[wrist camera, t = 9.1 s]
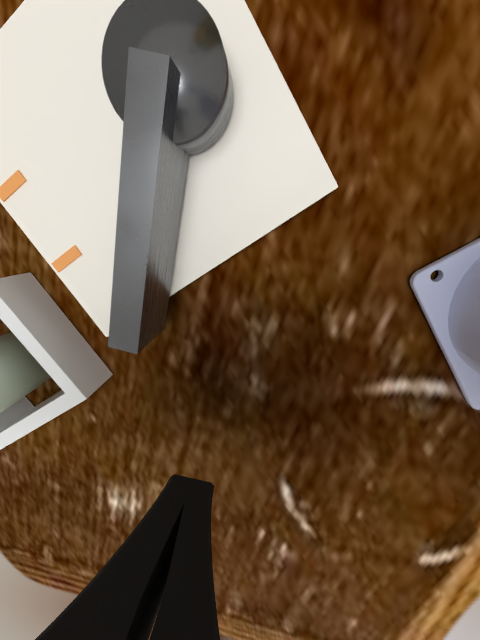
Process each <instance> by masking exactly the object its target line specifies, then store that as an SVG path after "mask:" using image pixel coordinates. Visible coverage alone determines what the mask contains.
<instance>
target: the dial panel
mask: <svg viewBox="0 0 480 640" xmlns="http://www.w3.org/2000/svg"><path fill="white" fill-rule="evenodd" d="M124 1H125V0H24V2H23V3H22V4H21V5H20V6H19V8H18V9H17V10H16V11H15V12H14V14H13V15H12V16H11V17H10V18H9V20H8V21H7V22H6V23H5V24H4V26H3V27H2V28H1V29H0V202H1V204H2V205H3V206H4V207H5V209H6V210H7V211H8V213H9V214H10V215H11V216H12V218H13V219H14V220H15V221H16V223H17V224H18V225H19V227H20V228H21V229H22V230H23V232H24V233H25V234H26V235H27V237H28V238H29V239H30V241H31V242H32V243H33V244H34V246H35V247H36V248H37V250H38V251H39V252H40V253H41V255H42V256H43V257H44V258H45V260H46V261H47V262H48V264H49V265H50V266H51V267H52V269H53V270H54V271H55V272H56V274H57V275H58V276H59V278H60V279H61V280H62V281H63V283H64V284H65V285H66V286H67V288H68V289H69V290H70V292H71V293H72V294H73V295H74V297H75V298H76V299H77V300H78V302H79V303H80V304H81V306H82V307H83V308H84V309H85V311H86V312H87V313H88V314H89V316H90V317H91V318H92V320H93V321H94V322H95V323H96V325H97V326H98V327H99V328H100V330H101V331H102V332H103V334H104V335H105V336H106V337H108V336H109V325H110V310H111V296H112V281H113V267H114V252H115V238H116V224H117V209H118V195H119V180H120V166H121V151H122V137H123V123H124V122H123V121H122V120H121V118H120V117H119V116H118V114H117V113H116V111H115V110H114V108H113V106H112V104H111V102H110V100H109V97H108V95H107V92H106V89H105V85H104V81H103V75H102V65H101V56H102V46H103V41H104V36H105V33H106V30H107V27H108V25H109V22H110V20H111V18H112V16H113V15H114V13H115V12H116V10H117V9H118V7H119V6H120V5H121V4H122V3H123V2H124ZM198 1H199V2H200V3H201V4H202V5H203V6H204V7H205V9H206V10H207V11H208V12H209V14H210V15H211V17H212V19H213V20H214V22H215V24H216V26H217V29H218V31H219V34H220V37H221V40H222V43H223V47H224V50H225V54H226V57H227V61H228V64H229V68H230V72H231V75H232V80H233V88H234V101H233V109H232V113H231V117H230V120H229V122H228V125H227V127H226V129H225V131H224V132H223V134H222V135H221V137H220V138H219V139H218V140H217V141H216V142H215V143H214V144H213V145H212V146H211V147H209V148H208V149H206V150H205V151H203V152H201V153H198V154H195V155H190V156H189V160H188V167H187V174H186V181H185V188H184V195H183V203H182V210H181V217H180V224H179V231H178V238H177V245H176V252H175V260H174V267H173V274H172V281H171V288H170V295H169V297H170V296H171V295H173V294H174V293H176V292H177V291H179V290H180V289H182V288H183V287H185V286H186V285H188V284H190V283H191V282H193V281H194V280H196V279H197V278H199V277H200V276H202V275H203V274H205V273H207V272H208V271H210V270H211V269H213V268H214V267H216V266H217V265H219V264H220V263H222V262H224V261H225V260H227V259H228V258H230V257H231V256H233V255H234V254H236V253H237V252H239V251H240V250H242V249H244V248H245V247H247V246H248V245H250V244H251V243H253V242H254V241H256V240H257V239H259V238H261V237H262V236H264V235H265V234H267V233H268V232H270V231H271V230H273V229H274V228H276V227H278V226H279V225H281V224H282V223H284V222H285V221H287V220H288V219H290V218H291V217H293V216H294V215H296V214H298V213H299V212H301V211H302V210H304V209H305V208H307V207H308V206H310V205H311V204H313V203H315V202H316V201H318V200H319V199H321V198H322V197H324V196H325V195H327V194H328V193H330V192H332V191H333V190H335V189H336V188H338V185H337V183H336V181H335V179H334V177H333V175H332V173H331V171H330V169H329V167H328V165H327V163H326V161H325V159H324V157H323V155H322V153H321V151H320V149H319V147H318V145H317V143H316V141H315V140H314V138H313V136H312V134H311V132H310V130H309V128H308V126H307V124H306V122H305V120H304V118H303V116H302V114H301V112H300V110H299V108H298V106H297V104H296V102H295V100H294V98H293V96H292V94H291V92H290V90H289V88H288V86H287V84H286V82H285V80H284V78H283V76H282V74H281V72H280V70H279V68H278V66H277V64H276V62H275V60H274V58H273V56H272V54H271V52H270V50H269V48H268V46H267V44H266V42H265V40H264V38H263V36H262V34H261V32H260V30H259V28H258V26H257V24H256V22H255V20H254V18H253V16H252V14H251V12H250V10H249V8H248V7H247V5H246V3H245V1H244V0H198Z"/></svg>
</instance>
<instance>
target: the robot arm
mask: <svg viewBox="0 0 480 640" xmlns="http://www.w3.org/2000/svg"><path fill="white" fill-rule="evenodd" d="M435 270H437V271H438V276H437V278H436V279H434V280H431V278H430V275H431V273H432V272H433V271H435ZM410 286H411V288H412V290H413V292H414V294H415V296H416V298H417V300H418V302H419V304H420V306H421V309H422V311H423V313H424V315H425V317H426V319H427V321H428V323H429V325H430V327H431V329H432V331H433V333H434V335H435V337H436V340H437V342H438V344H439V346H440V348H441V350H442V352H443V354H444V356H445V358H446V360H447V362H448V364H449V366H450V368H451V370H452V373H453V375H454V377H455V379H456V381H457V383H458V385H459V387H460V389H461V391H462V393H463V395H464V397H465V399H466V401H467V403H468V404H469V405H470V406H471V407H472V408H474V409H477V410H480V238H479V239H477V240H475V241H473V242H471V243H469V244H467V245H465V246H463V247H462V248H460V249H458V250H456V251H454V252H452V253H450V254H448V255H446V256H444V257H443V258H441V259H439V260H437V261H435V262H433V263H431V264H429V265H427V266H425V267H424V268H422V269H420V270H418V271H416V272H415V273H414V274H413V275H412V276H411V278H410ZM213 489H214V486H213V484H212V483H210V482H206V481H202V480H197V479H193V478H188V477H184V476H180V475H173V476H171V477H170V479H169V481H168V483H167V484H166V486H165V487H164V489H163V491H162V492H161V494H160V495H159V497H158V498H157V500H156V501H155V502H154V504H153V505H152V507H151V508H150V509H149V511H148V512H147V514H146V515H145V516H144V518H143V519H142V520H141V521H140V523H139V524H138V525H137V527H136V528H135V529H134V530H133V532H132V533H131V534H130V536H129V537H128V538H127V539H126V541H125V542H124V543H123V544H122V546H121V547H120V548H119V549H118V550H117V552H116V553H115V554H114V555H113V556H112V557H111V559H110V560H109V561H108V562H107V563H106V564H105V566H104V567H103V568H102V569H101V570H100V572H99V573H98V574H97V575H96V576H95V577H94V578H93V579H92V581H91V582H90V583H89V584H88V585H87V586H86V587H85V588H84V589H83V591H82V592H81V593H80V594H79V595H78V596H77V597H76V598H75V599H74V600H73V602H72V603H70V604H69V606H68V607H67V608H66V609H65V610H64V611H63V612H62V613H61V614H60V615H59V616H58V617H57V618H56V619H55V620H54V621H53V622H52V623H51V624H50V625H49V626H48V627H47V628H46V629H45V630H44V631H43V632H42V633H41V634H40V635H39V636H38V637H37V638H36V639H35V640H148V638H149V635H150V632H151V630H152V627H153V624H154V621H155V619H156V621H155V624H154V627H153V631H152V634H151V637H150V640H220V636H219V628H218V620H217V612H216V602H215V592H214V582H213V569H212V549H211V506H212V496H213ZM160 604H161V605H160ZM159 607H160V608H159ZM158 610H159V611H158ZM157 613H158V614H157ZM156 616H157V618H156Z"/></svg>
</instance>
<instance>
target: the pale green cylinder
mask: <svg viewBox="0 0 480 640" xmlns="http://www.w3.org/2000/svg"><path fill="white" fill-rule="evenodd" d="M50 378H52V377H51V376H50V375H49V374H48V373H47V372H46V371H45V369H44V368H43V367H42V366H41V365H40V364H39V362H38V361H37V360H36V359H35V358H34V357H33V356H32V354H31V353H30V352H29V351H28V350H27V349H26V348H25V346H24V345H23V344H22V343H21V342H20V341H19V339H18V338H17V337H16V336H15V335H14V334H13V333H12V331H11V332H9V333H6V334H4V335H1V336H0V413H1V412H3V411H4V410H5V409H7V408H8V407H10V406H11V405H13V404H14V403H16V402H17V401H19V400H20V399H21V398H23V397H24V396H26V395H27V394H29V393H30V392H32V391H33V390H34V389H36V388H37V387H39V386H40V385H42V384H43V383H45V382H46V381H47V380H49V379H50Z"/></svg>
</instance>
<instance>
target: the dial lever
mask: <svg viewBox="0 0 480 640" xmlns="http://www.w3.org/2000/svg"><path fill="white" fill-rule="evenodd" d="M101 65H102V75H103V81H104V85H105V89H106V92H107V95H108V97H109V100H110V102H111V104H112V106H113V108H114V110H115V111H116V113H117V114H118V116H119V117H120V118H121V120H122V121H123V122H124V123H123V137H122V151H121V166H120V180H119V195H118V209H117V224H116V238H115V252H114V267H113V281H112V296H111V310H110V325H109V339H108V347H111V348H115V349H119V350H123V351H127V352H131V353H135V354H138V353H139V352H140V351H141V350H142V349H143V348H144V347H145V346H146V345H148V344H149V343H150V342H151V341H152V340H153V339H154V338H155V337H156V336H157V335H158V334H159V333H160V332H161V331H162V330H163V329H164V328H165V324H166V317H167V310H168V302H169V295H170V288H171V281H172V274H173V267H174V260H175V252H176V245H177V238H178V231H179V224H180V217H181V210H182V203H183V195H184V188H185V181H186V174H187V167H188V160H189V156H190V155H195V154H198V153H201V152H203V151H205V150H206V149H208V148H209V147H211V146H212V145H213V144H214V143H215V142H216V141H217V140H218V139H219V138H220V137H221V135H222V134H223V132H224V131H225V129H226V127H227V125H228V122H229V120H230V117H231V113H232V109H233V101H234V88H233V80H232V75H231V72H230V68H229V64H228V61H227V57H226V54H225V50H224V47H223V43H222V40H221V37H220V34H219V31H218V29H217V26H216V24H215V22H214V20H213V19H212V17H211V15H210V14H209V12H208V11H207V10H206V9H205V7H204V6H203V5H202V4H201V3H200V2H199V1H198V0H125V1H124V2H123V3H122V4H121V5H120V6H119V7H118V9H117V10H116V12H115V13H114V15H113V16H112V18H111V20H110V22H109V25H108V27H107V30H106V33H105V36H104V41H103V46H102V56H101Z"/></svg>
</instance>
